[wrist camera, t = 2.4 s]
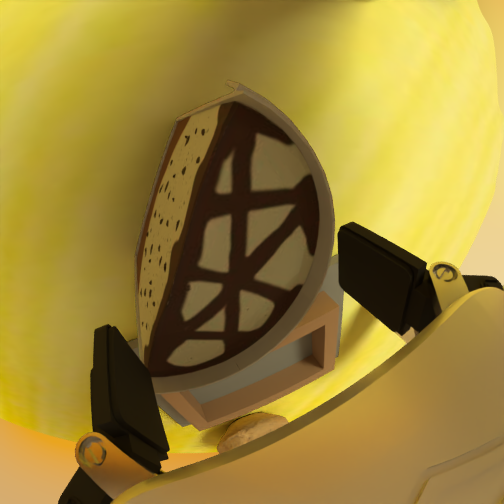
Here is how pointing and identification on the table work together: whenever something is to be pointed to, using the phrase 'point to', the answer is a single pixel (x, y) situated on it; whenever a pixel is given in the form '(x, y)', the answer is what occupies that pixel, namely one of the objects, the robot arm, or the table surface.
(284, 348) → the tray
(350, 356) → the table surface
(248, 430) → the oil lamp
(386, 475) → the robot arm
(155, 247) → the food container
